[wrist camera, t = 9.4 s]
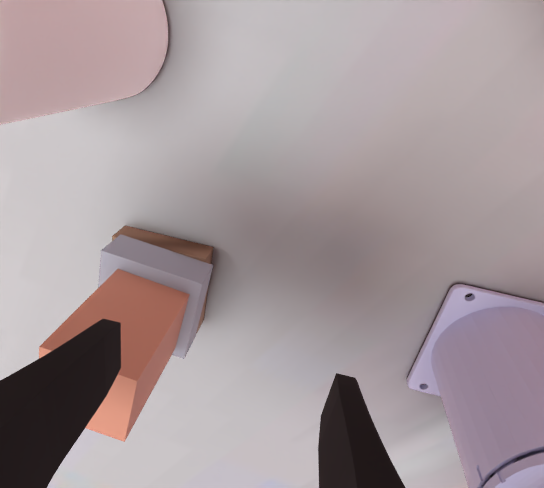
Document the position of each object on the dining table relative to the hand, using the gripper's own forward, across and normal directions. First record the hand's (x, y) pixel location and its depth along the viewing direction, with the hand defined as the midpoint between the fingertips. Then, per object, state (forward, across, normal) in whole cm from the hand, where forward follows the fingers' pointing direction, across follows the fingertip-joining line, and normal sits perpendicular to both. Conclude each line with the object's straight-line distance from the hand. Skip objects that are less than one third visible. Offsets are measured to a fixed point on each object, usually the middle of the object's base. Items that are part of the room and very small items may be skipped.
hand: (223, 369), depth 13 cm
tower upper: (+9, +6, +4) cm, 12 cm away
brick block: (+7, +6, +4) cm, 10 cm away
